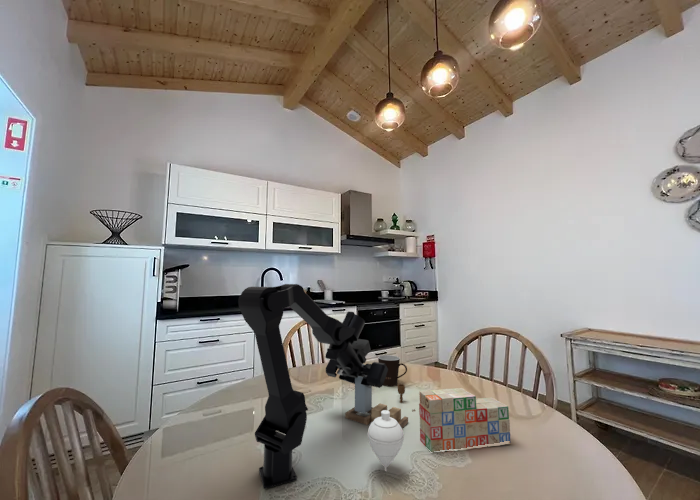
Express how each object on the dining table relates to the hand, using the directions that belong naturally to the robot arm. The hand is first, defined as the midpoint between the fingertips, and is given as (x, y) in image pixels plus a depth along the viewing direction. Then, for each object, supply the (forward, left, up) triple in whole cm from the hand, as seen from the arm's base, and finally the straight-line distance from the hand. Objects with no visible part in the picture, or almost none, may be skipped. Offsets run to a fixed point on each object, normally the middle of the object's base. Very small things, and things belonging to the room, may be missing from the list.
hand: (365, 385), depth 91 cm
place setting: (-4, -23, -9) cm, 25 cm away
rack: (-5, -1, -8) cm, 10 cm away
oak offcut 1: (-5, -2, -9) cm, 10 cm away
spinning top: (-26, +9, -9) cm, 29 cm away
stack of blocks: (-24, -15, -9) cm, 30 cm away
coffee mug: (+19, -22, -9) cm, 30 cm away
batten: (-1, +1, -7) cm, 7 cm away
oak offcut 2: (-9, -4, -9) cm, 13 cm away
